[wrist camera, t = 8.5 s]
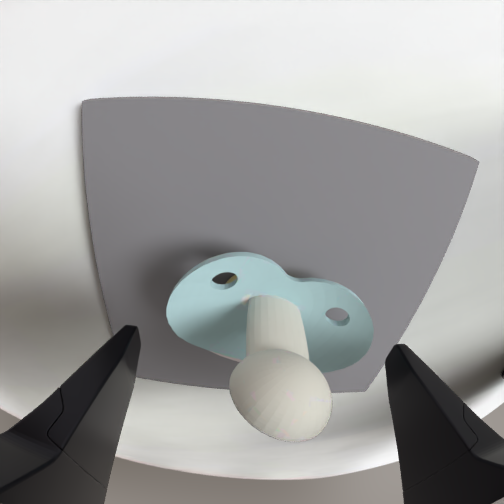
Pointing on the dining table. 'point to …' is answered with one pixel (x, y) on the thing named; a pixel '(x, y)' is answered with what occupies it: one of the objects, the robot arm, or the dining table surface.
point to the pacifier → (272, 338)
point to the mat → (262, 215)
